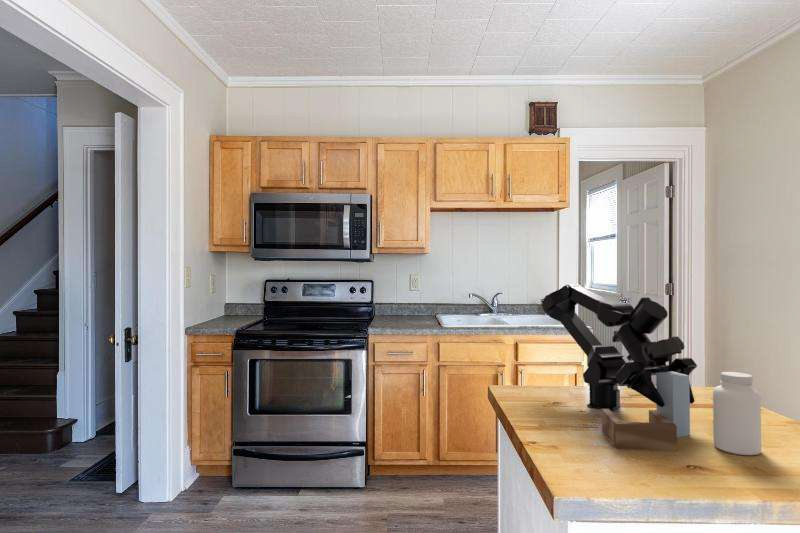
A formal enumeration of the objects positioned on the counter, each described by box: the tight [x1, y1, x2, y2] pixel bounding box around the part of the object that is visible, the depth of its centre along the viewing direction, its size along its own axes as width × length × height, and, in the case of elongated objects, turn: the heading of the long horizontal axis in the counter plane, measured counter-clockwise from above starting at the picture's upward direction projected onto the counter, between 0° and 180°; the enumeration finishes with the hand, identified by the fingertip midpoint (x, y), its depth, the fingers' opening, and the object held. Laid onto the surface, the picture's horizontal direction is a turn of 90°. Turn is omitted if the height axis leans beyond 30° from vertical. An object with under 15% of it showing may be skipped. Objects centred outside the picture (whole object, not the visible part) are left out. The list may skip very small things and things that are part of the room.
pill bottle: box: [712, 371, 762, 456], centre depth 99 cm, size 8×8×15 cm
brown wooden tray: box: [601, 409, 678, 452], centre depth 104 cm, size 11×12×5 cm
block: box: [655, 371, 691, 438], centre depth 109 cm, size 4×4×13 cm
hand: (678, 404), depth 107 cm, fingers open, 8 cm apart
